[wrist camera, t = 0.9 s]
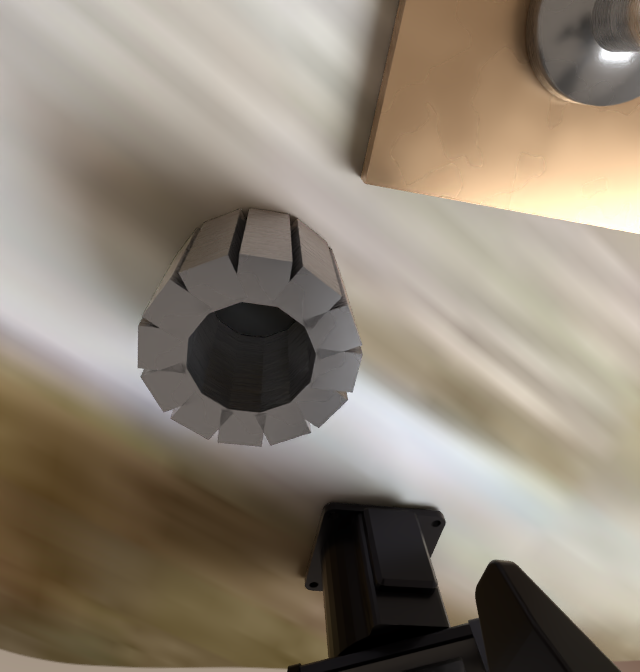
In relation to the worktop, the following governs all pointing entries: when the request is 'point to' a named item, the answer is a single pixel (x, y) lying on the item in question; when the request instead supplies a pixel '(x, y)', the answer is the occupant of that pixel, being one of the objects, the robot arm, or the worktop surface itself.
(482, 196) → the shaft stand
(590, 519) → the worktop surface
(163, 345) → the hub
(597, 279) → the worktop surface
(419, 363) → the worktop surface
